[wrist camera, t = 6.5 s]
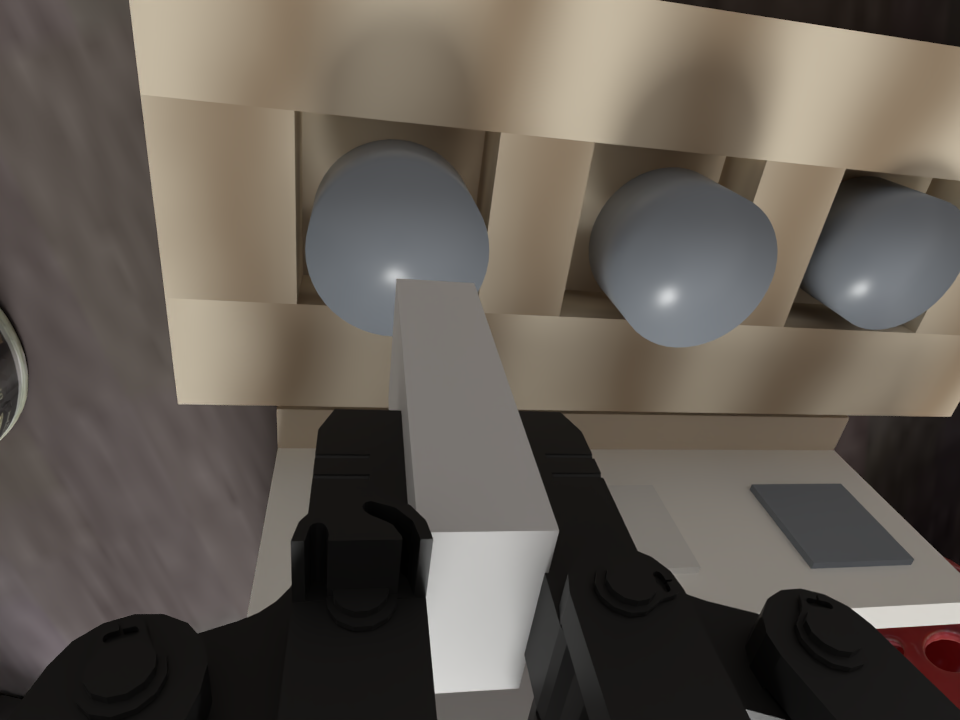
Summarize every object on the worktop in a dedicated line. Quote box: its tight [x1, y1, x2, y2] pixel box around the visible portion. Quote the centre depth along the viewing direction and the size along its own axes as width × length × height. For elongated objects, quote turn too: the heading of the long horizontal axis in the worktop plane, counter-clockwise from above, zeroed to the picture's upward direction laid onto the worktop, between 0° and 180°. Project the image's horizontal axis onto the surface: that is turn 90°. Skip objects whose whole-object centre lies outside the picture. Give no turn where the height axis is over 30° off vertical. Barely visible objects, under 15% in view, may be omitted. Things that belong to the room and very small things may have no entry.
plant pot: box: [877, 557, 960, 709], centre depth 35 cm, size 13×13×12 cm
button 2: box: [305, 139, 489, 337], centre depth 19 cm, size 5×5×3 cm
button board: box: [129, 0, 960, 417], centre depth 23 cm, size 32×14×3 cm, turn 82°
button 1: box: [799, 176, 960, 330], centre depth 24 cm, size 5×5×3 cm
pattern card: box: [247, 406, 960, 629], centre depth 25 cm, size 26×5×10 cm, turn 82°
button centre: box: [589, 167, 778, 348], centre depth 21 cm, size 5×5×3 cm
